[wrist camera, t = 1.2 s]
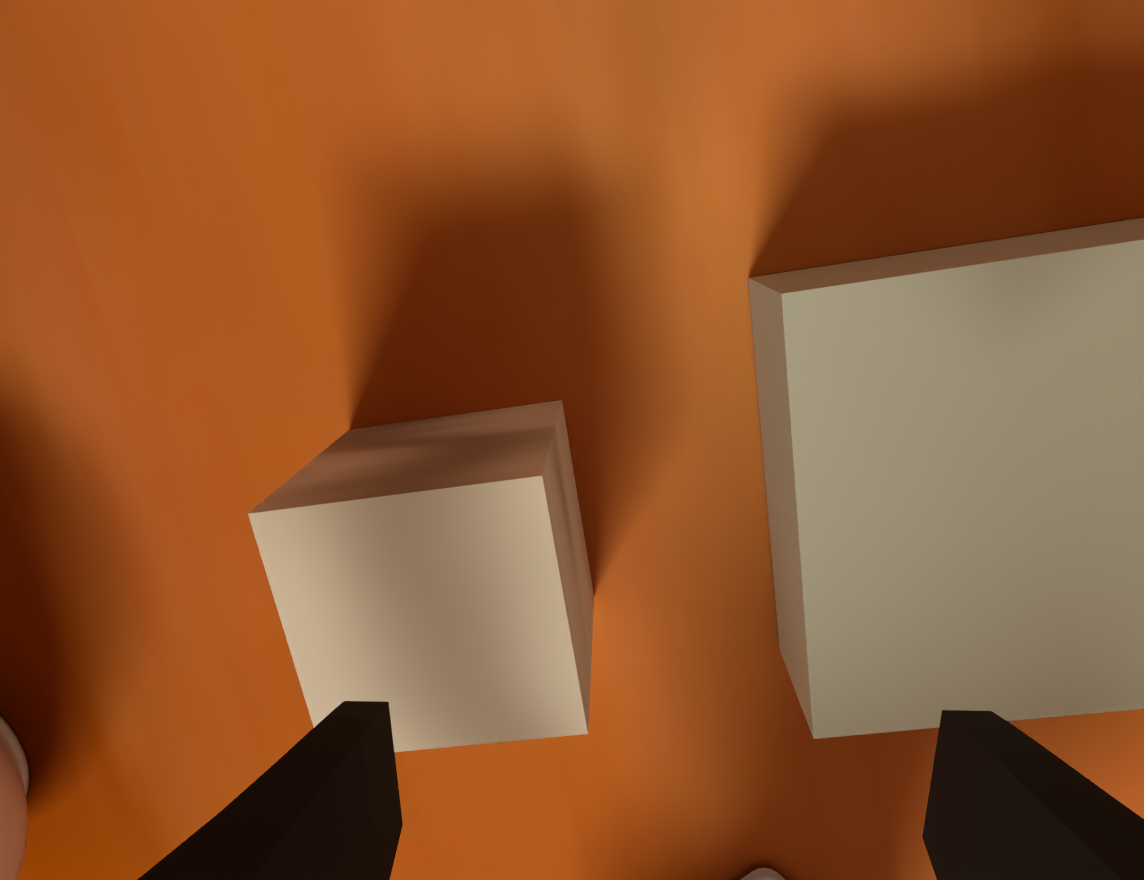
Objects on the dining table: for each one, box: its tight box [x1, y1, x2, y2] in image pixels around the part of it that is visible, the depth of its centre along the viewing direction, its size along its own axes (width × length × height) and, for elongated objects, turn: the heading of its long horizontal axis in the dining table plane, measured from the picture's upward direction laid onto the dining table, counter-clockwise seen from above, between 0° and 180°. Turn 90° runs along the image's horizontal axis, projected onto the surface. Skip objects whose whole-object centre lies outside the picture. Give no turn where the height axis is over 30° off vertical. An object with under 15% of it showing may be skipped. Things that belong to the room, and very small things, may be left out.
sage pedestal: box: [748, 218, 1144, 739], centre depth 16 cm, size 10×10×4 cm
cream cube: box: [248, 400, 594, 752], centre depth 17 cm, size 6×6×6 cm
